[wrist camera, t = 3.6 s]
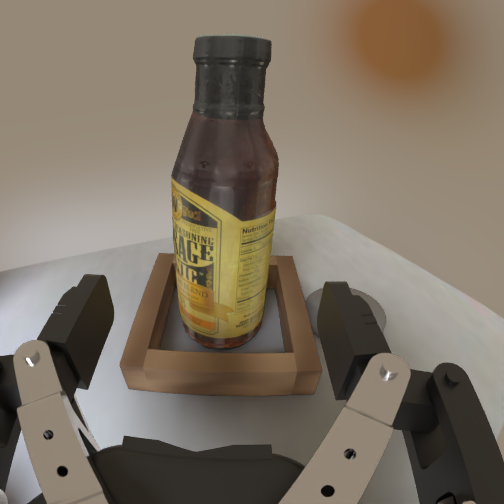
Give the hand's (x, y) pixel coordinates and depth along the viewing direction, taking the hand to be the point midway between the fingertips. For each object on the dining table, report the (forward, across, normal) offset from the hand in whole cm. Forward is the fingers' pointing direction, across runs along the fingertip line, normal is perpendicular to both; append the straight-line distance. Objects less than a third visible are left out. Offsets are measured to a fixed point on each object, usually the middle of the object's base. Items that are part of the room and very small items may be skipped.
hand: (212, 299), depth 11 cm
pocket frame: (+9, 0, +10) cm, 14 cm away
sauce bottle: (+9, 0, +10) cm, 14 cm away
